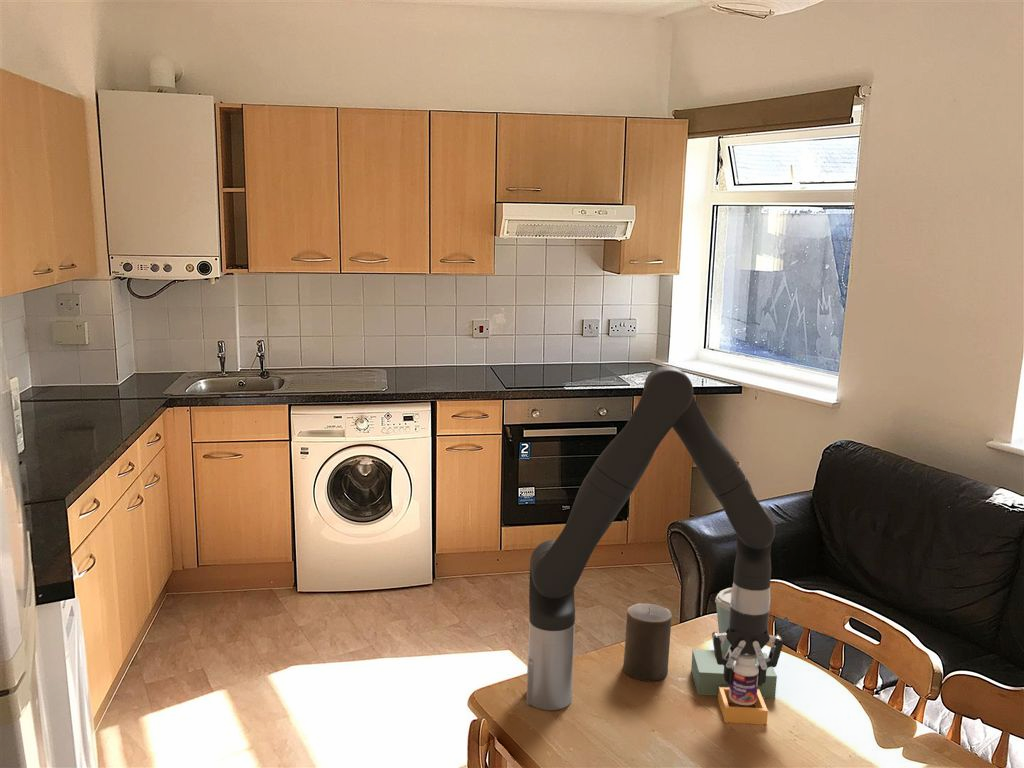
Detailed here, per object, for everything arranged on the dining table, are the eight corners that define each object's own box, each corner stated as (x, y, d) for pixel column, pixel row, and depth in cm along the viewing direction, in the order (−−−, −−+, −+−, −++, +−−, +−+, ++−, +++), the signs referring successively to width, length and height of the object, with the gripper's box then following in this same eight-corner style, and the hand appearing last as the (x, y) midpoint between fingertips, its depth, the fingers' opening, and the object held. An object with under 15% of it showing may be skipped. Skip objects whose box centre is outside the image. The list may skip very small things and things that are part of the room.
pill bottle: (729, 704, 177) (732, 659, 175) (728, 690, 182) (731, 646, 180) (757, 707, 175) (761, 662, 174) (755, 693, 181) (759, 649, 179)
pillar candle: (641, 685, 188) (646, 620, 185) (614, 665, 197) (618, 602, 194) (677, 675, 193) (682, 611, 190) (648, 655, 201) (653, 594, 199)
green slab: (704, 721, 176) (706, 698, 175) (691, 670, 195) (692, 649, 194) (786, 725, 175) (788, 702, 174) (764, 674, 194) (766, 653, 193)
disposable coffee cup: (729, 670, 196) (733, 606, 193) (701, 648, 205) (706, 587, 203) (768, 662, 199) (774, 600, 197) (740, 641, 209) (744, 581, 206)
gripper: (782, 598, 178) (775, 675, 181) (710, 595, 179) (704, 672, 182) (791, 615, 171) (784, 695, 174) (716, 611, 172) (710, 691, 175)
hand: (743, 683), depth 178 cm, fingers closed on pill bottle, 5 cm apart
